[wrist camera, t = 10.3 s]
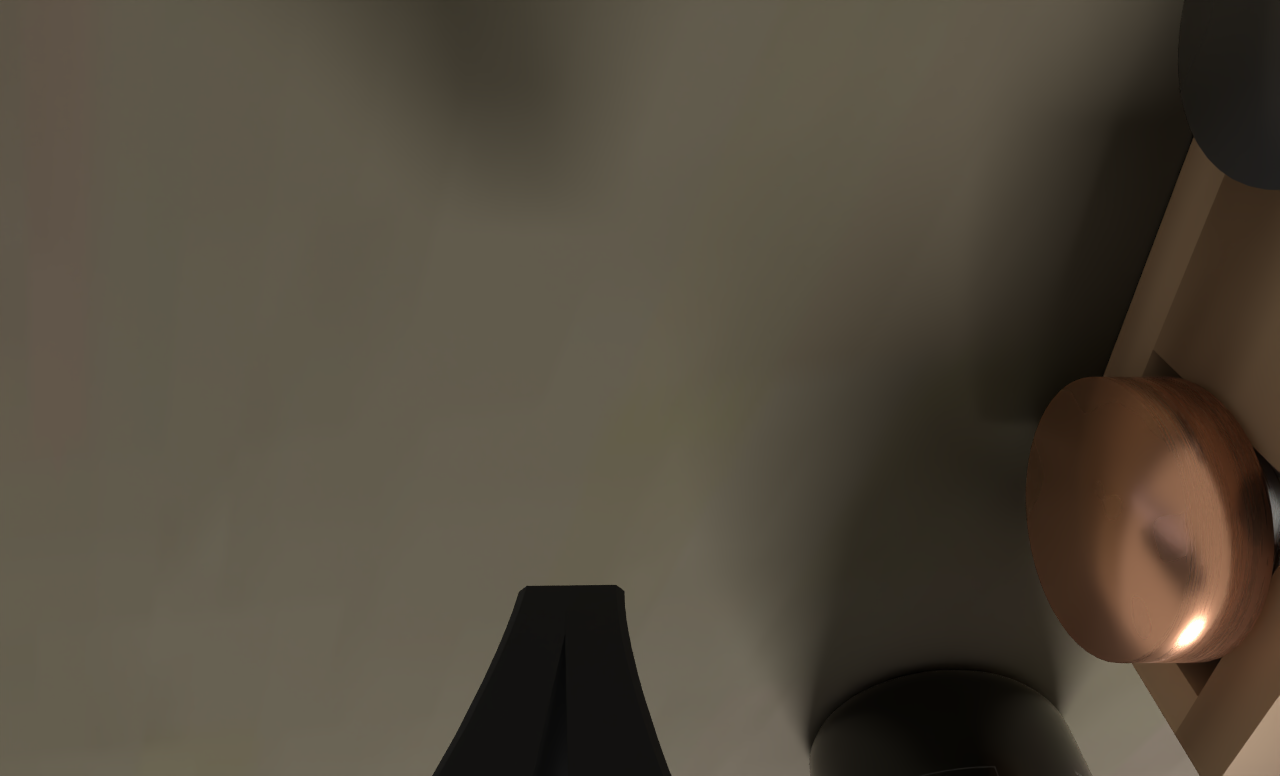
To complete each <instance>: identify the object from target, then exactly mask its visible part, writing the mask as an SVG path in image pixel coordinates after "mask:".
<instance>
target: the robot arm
mask: <svg viewBox="0 0 1280 776" xmlns="http://www.w3.org/2000/svg"><path fill="white" fill-rule="evenodd" d="M432 776H671V774H670V771H669V769H668V766H667V763H666V760H665V758H664V755H663V752H662V749H661V746H660V744H659V741H658V738H657V735H656V732H655V728H654V725H653V722H652V719H651V716H650V713H649V710H648V707H647V704H646V701H645V697H644V694H643V691H642V687H641V683H640V680H639V676H638V672H637V668H636V664H635V660H634V656H633V652H632V647H631V642H630V637H629V632H628V626H627V620H626V611H625V596H624V590H622V589H621V588H620V587H618V586H617V585H572V586H526V587H525V588H523V589H522V590H521V591H520V592H519V594H518V597H517V600H516V603H515V606H514V609H513V612H512V614H511V617H510V620H509V622H508V625H507V628H506V630H505V632H504V635H503V637H502V640H501V642H500V644H499V647H498V649H497V651H496V654H495V656H494V658H493V660H492V662H491V665H490V667H489V669H488V671H487V673H486V676H485V678H484V680H483V682H482V684H481V686H480V688H479V690H478V692H477V694H476V696H475V698H474V700H473V702H472V704H471V706H470V708H469V710H468V711H467V713H466V715H465V717H464V719H463V721H462V723H461V725H460V727H459V729H458V731H457V733H456V735H455V737H454V739H453V740H452V742H451V744H450V746H449V747H448V749H447V751H446V753H445V754H444V756H443V758H442V760H441V761H440V763H439V765H438V767H437V768H436V770H435V772H434V774H433V775H432Z"/></svg>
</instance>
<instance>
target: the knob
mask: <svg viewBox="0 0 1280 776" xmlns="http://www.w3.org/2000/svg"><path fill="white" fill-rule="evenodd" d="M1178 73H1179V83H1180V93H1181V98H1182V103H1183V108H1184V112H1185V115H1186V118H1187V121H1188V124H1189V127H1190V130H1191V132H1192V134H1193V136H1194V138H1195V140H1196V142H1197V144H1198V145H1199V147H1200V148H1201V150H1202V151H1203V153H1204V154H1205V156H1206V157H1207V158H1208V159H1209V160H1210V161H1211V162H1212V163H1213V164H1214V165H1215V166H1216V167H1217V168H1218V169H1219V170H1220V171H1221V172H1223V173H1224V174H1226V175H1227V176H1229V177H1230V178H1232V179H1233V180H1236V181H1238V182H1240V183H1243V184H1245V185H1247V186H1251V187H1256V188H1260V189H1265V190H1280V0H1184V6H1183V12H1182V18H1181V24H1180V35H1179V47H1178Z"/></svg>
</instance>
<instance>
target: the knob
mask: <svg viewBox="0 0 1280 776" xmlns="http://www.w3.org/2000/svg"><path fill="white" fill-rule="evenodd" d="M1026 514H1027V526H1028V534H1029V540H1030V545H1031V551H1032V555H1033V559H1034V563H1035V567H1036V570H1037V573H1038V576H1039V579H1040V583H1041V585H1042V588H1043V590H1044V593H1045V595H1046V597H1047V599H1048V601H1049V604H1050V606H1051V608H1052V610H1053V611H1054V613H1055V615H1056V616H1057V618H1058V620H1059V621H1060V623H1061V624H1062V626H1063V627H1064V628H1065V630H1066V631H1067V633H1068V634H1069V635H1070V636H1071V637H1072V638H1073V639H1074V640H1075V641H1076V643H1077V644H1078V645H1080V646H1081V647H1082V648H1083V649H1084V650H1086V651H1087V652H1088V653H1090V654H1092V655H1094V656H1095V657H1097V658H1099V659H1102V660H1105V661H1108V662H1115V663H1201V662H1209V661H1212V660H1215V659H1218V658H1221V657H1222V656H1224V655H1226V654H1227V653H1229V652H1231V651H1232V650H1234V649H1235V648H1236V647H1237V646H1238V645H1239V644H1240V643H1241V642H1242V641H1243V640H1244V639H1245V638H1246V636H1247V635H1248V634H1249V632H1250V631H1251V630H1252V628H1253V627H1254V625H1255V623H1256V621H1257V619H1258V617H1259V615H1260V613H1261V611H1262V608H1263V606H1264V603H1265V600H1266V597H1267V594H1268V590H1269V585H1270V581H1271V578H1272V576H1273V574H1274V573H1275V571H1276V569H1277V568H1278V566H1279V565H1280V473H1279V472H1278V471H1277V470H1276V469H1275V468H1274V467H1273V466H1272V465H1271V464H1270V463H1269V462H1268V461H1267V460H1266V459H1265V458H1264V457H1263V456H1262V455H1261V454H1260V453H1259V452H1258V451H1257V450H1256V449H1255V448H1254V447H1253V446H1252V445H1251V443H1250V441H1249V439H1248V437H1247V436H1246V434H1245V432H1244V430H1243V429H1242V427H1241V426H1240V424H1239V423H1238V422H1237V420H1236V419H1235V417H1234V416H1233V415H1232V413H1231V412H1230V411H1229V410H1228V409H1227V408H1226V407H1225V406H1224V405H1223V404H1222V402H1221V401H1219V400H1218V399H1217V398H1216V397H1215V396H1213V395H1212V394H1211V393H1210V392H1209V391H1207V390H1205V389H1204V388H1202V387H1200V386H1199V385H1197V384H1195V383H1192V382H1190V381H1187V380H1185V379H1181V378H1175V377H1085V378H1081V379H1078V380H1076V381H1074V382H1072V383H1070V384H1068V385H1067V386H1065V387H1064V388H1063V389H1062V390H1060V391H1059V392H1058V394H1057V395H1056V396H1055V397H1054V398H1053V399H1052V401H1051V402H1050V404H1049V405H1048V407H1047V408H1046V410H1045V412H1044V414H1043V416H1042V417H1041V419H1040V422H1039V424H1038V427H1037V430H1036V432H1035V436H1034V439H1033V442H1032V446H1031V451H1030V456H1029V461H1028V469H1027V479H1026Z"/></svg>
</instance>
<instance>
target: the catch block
mask: <svg viewBox="0 0 1280 776" xmlns="http://www.w3.org/2000/svg"><path fill="white" fill-rule="evenodd" d="M1103 377H1175V378H1181V379H1185V380H1187V381H1190V382H1192V383H1195V384H1197V385H1199V386H1200V387H1202V388H1204V389H1205V390H1207V391H1209V392H1210V393H1211V394H1212V395H1213V396H1215V397H1216V398H1217V399H1218V400H1219V401H1221V402H1222V404H1223V405H1224V406H1225V407H1226V408H1227V409H1228V410H1229V411H1230V412H1231V413H1232V415H1233V416H1234V417H1235V419H1236V420H1237V422H1238V423H1239V424H1240V426H1241V427H1242V429H1243V430H1244V432H1245V434H1246V436H1247V437H1248V439H1249V441H1250V443H1251V445H1252V446H1253V447H1254V448H1255V449H1256V450H1257V451H1258V452H1259V453H1260V454H1261V455H1262V456H1263V457H1264V458H1265V459H1266V460H1267V461H1268V462H1269V463H1270V464H1271V465H1272V466H1273V467H1274V468H1275V469H1276V470H1277V471H1278V472H1279V473H1280V190H1265V189H1260V188H1256V187H1251V186H1247V185H1245V184H1243V183H1240V182H1238V181H1236V180H1233V179H1232V178H1230V177H1229V176H1227V175H1226V174H1224V173H1223V172H1221V171H1220V170H1219V169H1218V168H1217V167H1216V166H1215V165H1214V164H1213V163H1212V162H1211V161H1210V160H1209V159H1208V158H1207V157H1206V156H1205V154H1204V153H1203V151H1202V150H1201V148H1200V147H1199V145H1198V144H1197V142H1196V140H1195V138H1194V137H1193V140H1192V143H1191V145H1190V148H1189V151H1188V153H1187V156H1186V159H1185V161H1184V164H1183V167H1182V169H1181V172H1180V174H1179V177H1178V180H1177V182H1176V185H1175V188H1174V190H1173V193H1172V196H1171V198H1170V201H1169V204H1168V206H1167V209H1166V212H1165V214H1164V217H1163V219H1162V222H1161V225H1160V227H1159V230H1158V233H1157V235H1156V238H1155V241H1154V243H1153V246H1152V249H1151V251H1150V254H1149V256H1148V259H1147V262H1146V264H1145V267H1144V270H1143V272H1142V275H1141V278H1140V280H1139V283H1138V286H1137V288H1136V291H1135V294H1134V296H1133V299H1132V301H1131V304H1130V307H1129V309H1128V312H1127V315H1126V317H1125V320H1124V323H1123V325H1122V328H1121V331H1120V333H1119V336H1118V339H1117V341H1116V344H1115V346H1114V349H1113V352H1112V354H1111V357H1110V360H1109V362H1108V365H1107V368H1106V370H1105V373H1104V376H1103ZM1132 664H1133V666H1134V668H1135V669H1136V671H1137V672H1138V674H1139V676H1140V677H1141V679H1142V681H1143V682H1144V684H1145V686H1146V687H1147V689H1148V691H1149V692H1150V694H1151V696H1152V697H1153V699H1154V701H1155V702H1156V704H1157V706H1158V707H1159V709H1160V711H1161V712H1162V714H1163V716H1164V717H1165V719H1166V721H1167V722H1168V724H1169V725H1170V727H1171V729H1172V730H1173V732H1174V734H1175V735H1176V737H1177V739H1178V740H1179V742H1180V744H1181V745H1182V747H1183V749H1184V750H1185V752H1186V754H1187V755H1188V757H1189V759H1190V760H1191V762H1192V764H1193V765H1194V767H1195V769H1196V770H1197V772H1198V774H1199V775H1200V776H1280V565H1279V566H1278V568H1277V569H1276V571H1275V573H1274V574H1273V576H1272V578H1271V581H1270V585H1269V590H1268V594H1267V597H1266V600H1265V603H1264V606H1263V608H1262V611H1261V613H1260V615H1259V617H1258V619H1257V621H1256V623H1255V625H1254V627H1253V628H1252V630H1251V631H1250V632H1249V634H1248V635H1247V636H1246V638H1245V639H1244V640H1243V641H1242V642H1241V643H1240V644H1239V645H1238V646H1237V647H1236V648H1235V649H1234V650H1232V651H1231V652H1229V653H1227V654H1226V655H1224V656H1222V657H1221V658H1218V659H1215V660H1212V661H1209V662H1201V663H1132Z"/></svg>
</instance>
